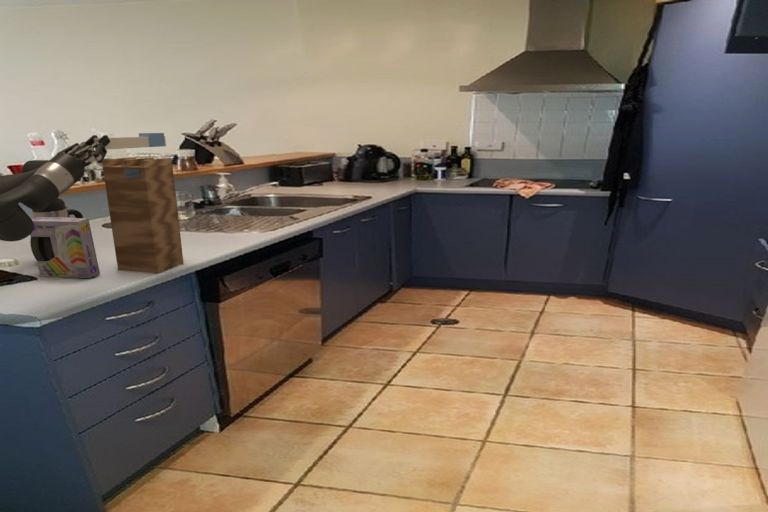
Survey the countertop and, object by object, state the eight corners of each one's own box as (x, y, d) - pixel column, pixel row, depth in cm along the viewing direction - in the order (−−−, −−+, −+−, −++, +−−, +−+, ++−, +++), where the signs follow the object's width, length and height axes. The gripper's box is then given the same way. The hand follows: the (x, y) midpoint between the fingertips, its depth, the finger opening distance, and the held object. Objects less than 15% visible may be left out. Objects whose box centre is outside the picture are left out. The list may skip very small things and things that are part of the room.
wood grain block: (156, 274, 153) (141, 160, 144) (116, 270, 158) (99, 160, 149) (183, 263, 165) (171, 157, 156) (145, 260, 169) (132, 157, 160)
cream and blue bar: (105, 149, 135) (103, 134, 134) (93, 149, 136) (91, 134, 135) (167, 146, 157) (166, 132, 156) (156, 146, 158) (155, 132, 157)
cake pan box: (34, 276, 153) (23, 218, 148) (49, 271, 157) (38, 215, 153) (88, 280, 148) (78, 221, 144) (101, 275, 153) (92, 217, 149)
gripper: (71, 163, 120) (116, 125, 131) (27, 162, 124) (74, 125, 135) (89, 188, 125) (130, 150, 136) (45, 187, 129) (89, 149, 140)
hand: (102, 138), depth 136 cm, fingers closed on cream and blue bar, 3 cm apart
